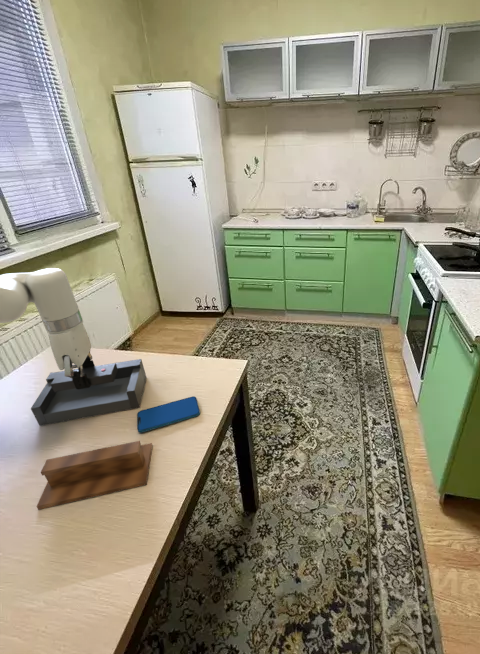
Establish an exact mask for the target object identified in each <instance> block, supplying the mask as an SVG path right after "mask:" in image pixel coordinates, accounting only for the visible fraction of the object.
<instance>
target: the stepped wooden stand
mask: <svg viewBox="0 0 480 654" xmlns="http://www.w3.org/2000/svg"><path fill="white" fill-rule="evenodd" d="M152 453H153V443H152V442H149V443H145V444H142V443H141V440H136V441H131V442H126V443H122V444H117V445H111V446H107V447H102V448H97V449H92V450H87V451H83V452H78V453H73V454H68V455H63V456H58V457H53V458H48V459H46V460H45V461H44V463H43V466H42V468H41V471H40V474H41V476H44V477H45V480H46V481H47V482H46V484H45V487H44V489H43V491H42V493H41V496H40V498H39V500H38V502H37V505H36V508H37V510H38V511H39V510H43V509H48V508H52V507H56V506H60V505H65V504H69V503H75V502H78V501H82V500H86V499H90V498H95V497H100V496H104V495H109V494H113V493H117V492H122V491H126V490H130V489H133V488H139V487H142V486H147V485H148V479H149V472H150V465H151V460H152Z"/></svg>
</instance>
